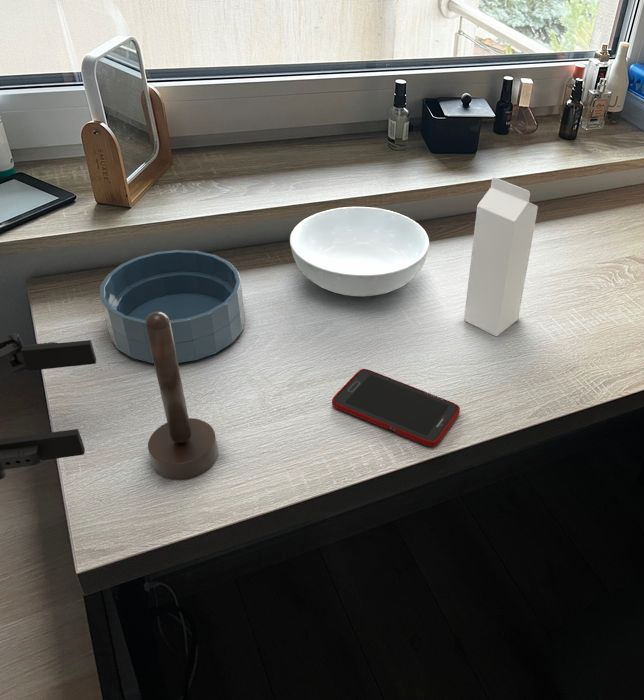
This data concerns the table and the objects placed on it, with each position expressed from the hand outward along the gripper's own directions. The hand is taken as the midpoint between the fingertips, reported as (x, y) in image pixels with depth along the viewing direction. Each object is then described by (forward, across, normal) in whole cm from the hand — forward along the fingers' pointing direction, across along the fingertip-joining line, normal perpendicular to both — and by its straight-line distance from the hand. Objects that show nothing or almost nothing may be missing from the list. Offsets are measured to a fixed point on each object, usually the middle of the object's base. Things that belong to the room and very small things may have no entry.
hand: (88, 393), depth 73 cm
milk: (+51, -19, -11) cm, 55 cm away
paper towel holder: (+8, 0, -11) cm, 13 cm away
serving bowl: (+34, -33, -11) cm, 49 cm away
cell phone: (+33, -2, -11) cm, 34 cm away
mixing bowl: (+7, -24, -11) cm, 28 cm away
